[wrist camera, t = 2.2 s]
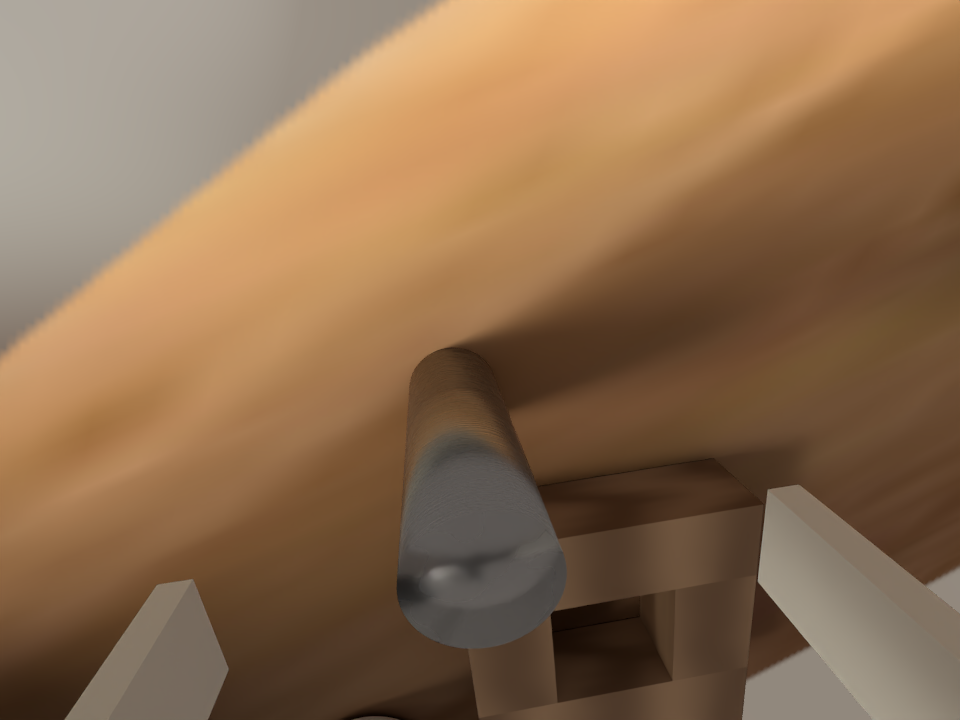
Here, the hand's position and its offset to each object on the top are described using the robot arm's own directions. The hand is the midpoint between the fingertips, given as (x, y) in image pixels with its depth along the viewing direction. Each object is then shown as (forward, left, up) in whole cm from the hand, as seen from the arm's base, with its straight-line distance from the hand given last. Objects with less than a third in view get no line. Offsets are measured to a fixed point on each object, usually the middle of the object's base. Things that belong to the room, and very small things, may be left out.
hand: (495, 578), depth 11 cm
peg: (0, 0, -12) cm, 12 cm away
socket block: (+6, -13, -12) cm, 19 cm away
